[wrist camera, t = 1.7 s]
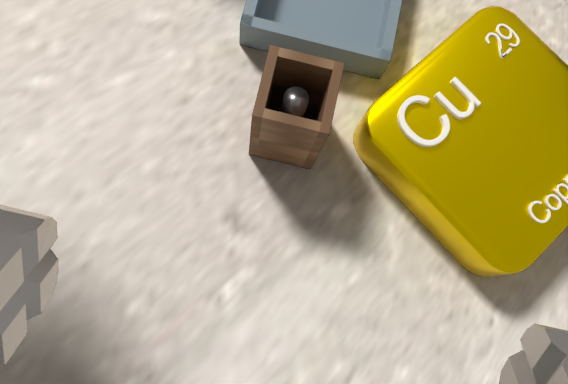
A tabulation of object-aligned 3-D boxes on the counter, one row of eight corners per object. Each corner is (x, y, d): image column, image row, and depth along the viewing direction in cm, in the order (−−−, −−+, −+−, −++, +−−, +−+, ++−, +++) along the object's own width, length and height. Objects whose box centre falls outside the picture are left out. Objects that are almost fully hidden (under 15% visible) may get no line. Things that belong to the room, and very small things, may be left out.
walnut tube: (248, 154, 38) (252, 115, 30) (263, 97, 39) (269, 44, 31) (310, 169, 38) (329, 134, 30) (322, 111, 39) (344, 63, 31)
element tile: (481, 289, 38) (516, 287, 33) (340, 139, 39) (354, 117, 35) (607, 158, 41) (654, 139, 36) (471, 24, 42) (500, -11, 38)
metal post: (273, 140, 38) (280, 107, 32) (278, 120, 39) (286, 83, 32) (294, 145, 38) (306, 113, 32) (299, 125, 39) (311, 89, 32)
